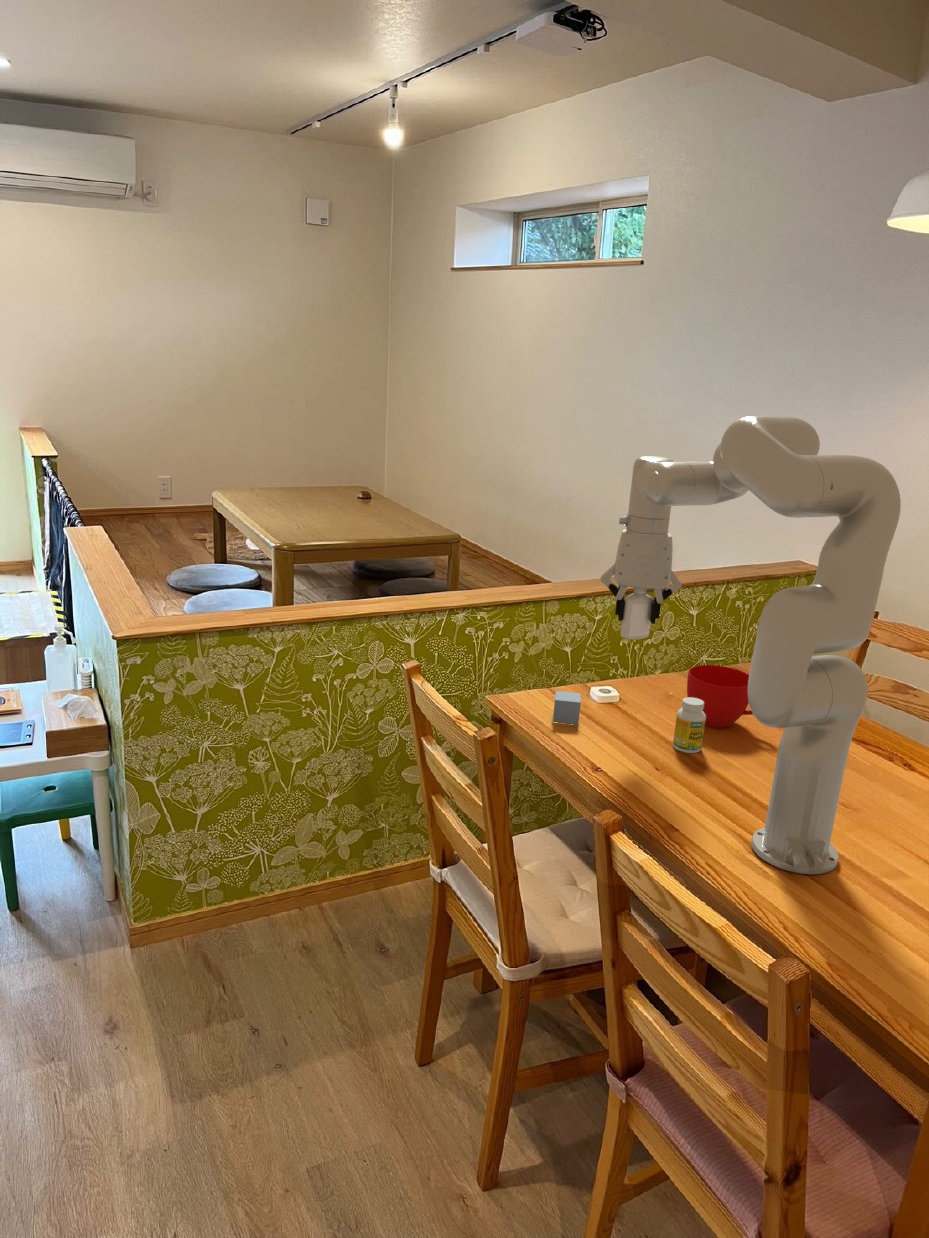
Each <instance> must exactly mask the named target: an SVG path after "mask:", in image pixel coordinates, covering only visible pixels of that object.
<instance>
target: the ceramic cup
mask: <svg viewBox="0 0 929 1238" xmlns="http://www.w3.org/2000/svg"><path fill="white" fill-rule="evenodd" d="M749 674H750V673H747V672H745V671H742V670H739V669H737V668H733V667H729V666H722V665H715V664H703V665H701V664H700V665H696V666H693V667H691V668H690V669H688V672H687V682H686V695H687V696H686V698H687V697H692V698H697V699H700V700H702V701H703V702H704V709H703V710H702V711H703V712H704V713H705V715H706V721H705V726H706V727H711V728H717V729H724V728H728V727H730V726H731V725H732V724H734V723H736V721H738V720H739V719H740V718H741V717H742V716H746V715H747V716H751V715H753V713H752V711H751V710H746V709H747V708H748V705H749V701H748V680H749Z"/></svg>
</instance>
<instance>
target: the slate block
mask: <svg viewBox="0 0 929 1238" xmlns="http://www.w3.org/2000/svg"><path fill="white" fill-rule="evenodd" d="M581 695H582V694H581V693H579V692H570V691H559V690H555V694H554V707H553V715H552V717H553V718H552V723H553V722H558V723H565V724H564V725H566V724H573V725H572V726H576V725H578V726H579V721H580V712H581V702H582V697H581Z"/></svg>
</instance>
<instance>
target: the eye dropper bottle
mask: <svg viewBox="0 0 929 1238" xmlns="http://www.w3.org/2000/svg"><path fill="white" fill-rule="evenodd" d="M647 591H648V589H647V588H635V587H633V592H632V593H631V594H629V595H627V596H626V597H625V598H624V599H625V605H624V614H623V620H622V621H621V628H620V637H622V638H624V639H627V640H641V639H646V638H648V637H649V635H650V629H651V621H650V619H651V611H652V603H653V599H654V598H653V597H652V596H651V595H649V594H647Z"/></svg>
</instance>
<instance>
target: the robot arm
mask: <svg viewBox="0 0 929 1238" xmlns="http://www.w3.org/2000/svg"><path fill="white" fill-rule="evenodd" d="M819 436H820V435H819V434H818V433H817V431H816V429H815V428H814V427H813V426H812V424H810V423H809V422H807V421H805V420H803V419H801V418H798V417H793V416H792V417H791V416H766V415H762V416H761V415H752V416H751V415H749V416H744V417H741V418H739V419H736V420H735V421H734V422H732V423H731V424H730V425H729V426H728V427H727V428H726V430H725V431H724V433H723V436H722V438H721V441H720V443H719V444H718V446H716V448H715V450H714V452H713V457H712V461H674V460H673V459H671V458H669V457H664V456H663V457H662V456H655V455H654V456H653V455H643V456H639V457H637V458H636V459H635V460H634V463H633V466H632V467H633V468H632V477H631V485H630V492H629V493H630V494H629V495H630V496H629V502H628V504H629V505H628V510H627V511H628V513H627V515H625V516H619V520H618V522H619V523H618V525H623V526H624V527H626V528H625V529H622V532H621V535H620V537H619V542H618V547H617V551H616V555H615V562H614V564H613V565H612V566H611V567H610V568H608V569H607V570H606V571H605V572H604V573H603V574H602V575H600V582H601V583H602V584H603V585H604V586H606V587H607V589H608V590H609V591H610V593H612V595H613V596H614V597H615V598H616V599H615V601H616V603H615V610H614V615H616V616H617V617H618V619H617V620H618V621H620V622H622V620H623V614H624V605H625V599H626V598H625V594H626V592H627V589H628V588H634V587H635V588H647V590H653V591H654V598H652V599H653V603H652V611H651V619H650V621H651V622H650V624H652V625H655V624H656V621H657V619H658V620H659V619H660V613H661V605H662V603H664V601H666V600H667V599H668V598H669V597H671V596H672V595H673V594H674V593H676V592H677V591H679V590H681V588H682V587H683V584H682V582H681V581H680V579H678V576H676V574H675V573H674V571H673V570H672V567H673V550H674V549H673V535H671V533H669V525H670V519H671V511H672V507H680V506H712V505H716V504H720V503H721V504H722V503H724V502H728V501H731V500H734V499H737V498H740V497H743V496H744V495H745V494H746V493H747V492H748V491H749V492H751V493H752V494H753V495H754V496H755V497H757V499H758V500H760V501H761V502H762V503H763V504H764V505H765V506H766V507H767V508H769V509H770V510H772V511H773V512H774V513H777V514H779V515H780V516H784V517H786V518H787V517H788V518H797V519H798V518H799V519H800V518H825V517H826V518H828V517H837V518H838V519H839V522H838V524H837V525H836V526H835V527H834V529H833V530H832V531H831V533H829V535H828V537H827V538H826V540H825V542H824V544H823V546H822V547H821V550H820V552H819V557H818V564H817V569H816V572H815V576H814V578H813V581H812V583H811V584H809V585H802V586H801V585H799V586H791V587H786V588H783V589H780V590H779V591H777V592H776V593H774V594H773V595H772V596H771V597H770V598H769V599H768V601H767V602H766V603H765V605H764V607H763V609H762V611H761V613H760V617H759V621H758V624H757V625H758V626H757V631H756V636H755V637H756V638H755V641H754V646H753V653H752V657H751V663H750V670H749V673H748V674H749V680H748V701H749V704H748V705H749V708H750V711H752V713H753V714H752V715H753V716H754V718H755V719H756V720H757V721H758V722H759V723H760V724H761V725H763V726H766V727H768V728H772V729H784V730H783V733H782V735H781V737H780V742H779V746H778V752H777V754H776V756H777V757H776V762H775V767H774V773H773V777H772V778H773V779H772V783H771V791H770V794H769V795H770V796H769V800H768V806H767V811H766V818H765V824H764V827H762V828H759V829H757V830H756V831H755V832H753V834H752V837H751V843H750V844H751V848H752V849H753V851H754V853H755V854H757V856H758V857H759V858H761V860H763V861H764V862H766V863H768V864H770V865H772V866H774V867H776V868H779V869H781V870H784V871H787V872H790V873H796V874H802V875H822V874H826V873H829V872H831V871H833V870H834V869H835V868H837V866H838V862H839V857H840V856H839V853H838V850H837V849H836V847H835V846H833V844H832V843H831V839H832V834H833V829H834V823H835V818H836V815H837V810H838V809H837V808H838V804H839V799H840V793H841V789H842V784H843V781H844V780H843V779H844V775H845V770H846V767H847V766H846V765H847V761H848V756H849V752H850V747H851V744H852V740H853V736H854V734H855V731H856V728H857V726H858V723H859V721H860V718H861V717H862V714H863V712H864V709H865V707H866V704H867V700H868V689H869V687H868V680H867V678H866V674H865V672H864V671H863V670H862V668H861V667H860V666H859V665H858V664H857V663H856V662H854V661H853V660H851V659H850V658H848V657H844V656H841V655H836V654H835V655H834V654H832V655H831V654H826V653H835V652H842V651H848V650H852V649H855V648H858V647H860V646H861V645H863V643H864V642H866V640H867V639H868V637H869V634H870V632H871V629H872V625H873V620H874V616H875V611H876V607H877V605H878V604H877V602H878V599H879V594H880V591H881V585H882V581H883V576H884V571H885V565H886V561H887V559H888V554H889V552H890V547H891V544H892V543H893V539H894V537H895V534H896V530H897V527H898V524H899V520H900V516H901V509H902V508H901V504H902V501H901V494H900V489H899V487H898V484H897V482H896V480H895V478H894V476H893V474H892V473H891V472H890V470H888V469H887V467H885V466H884V465H882V464H881V463H880V462H878V461H876V460H873V459H871V458H868V457H864V456H860V455H859V456H858V455H849V454H847V455H845V454H829V455H828V454H827V455H826V454H825V455H823V454H822V455H821V454H820V455H819V452H820V451H819V450H820V446H821V443H820V437H819ZM612 577H613V578H614V582H615V583H616V584H617V585H618V586H617V585H616V584H615V583H614V582H613V581H612V580H611V578H612ZM670 584H671V585H670ZM816 654H823V655H816ZM813 655H814V656H813Z"/></svg>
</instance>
